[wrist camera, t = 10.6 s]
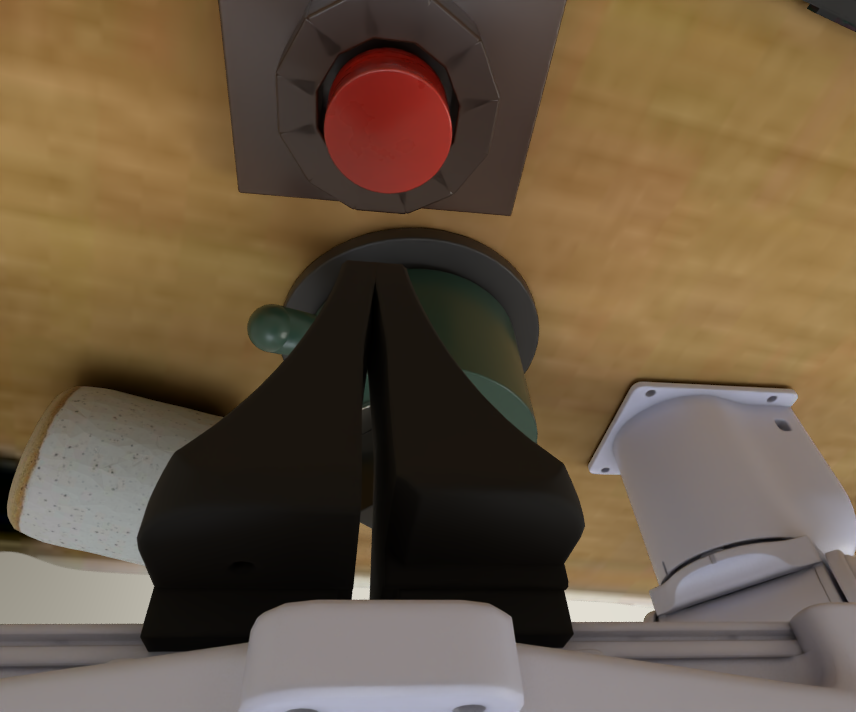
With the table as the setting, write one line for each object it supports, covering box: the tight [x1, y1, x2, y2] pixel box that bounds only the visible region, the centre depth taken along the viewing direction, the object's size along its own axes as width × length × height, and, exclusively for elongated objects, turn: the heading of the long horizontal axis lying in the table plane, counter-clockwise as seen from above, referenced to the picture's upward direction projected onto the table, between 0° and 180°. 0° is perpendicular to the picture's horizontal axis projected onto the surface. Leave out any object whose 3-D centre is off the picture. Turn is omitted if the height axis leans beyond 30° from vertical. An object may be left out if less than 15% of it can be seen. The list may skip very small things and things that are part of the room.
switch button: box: [324, 47, 452, 194], centre depth 17 cm, size 4×4×2 cm
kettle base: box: [282, 228, 539, 374], centre depth 27 cm, size 12×12×1 cm
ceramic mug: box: [7, 386, 224, 566], centre depth 29 cm, size 11×8×8 cm
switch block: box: [218, 0, 567, 216], centre depth 18 cm, size 10×8×3 cm
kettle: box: [247, 269, 538, 528], centre depth 23 cm, size 16×10×9 cm, turn 39°
